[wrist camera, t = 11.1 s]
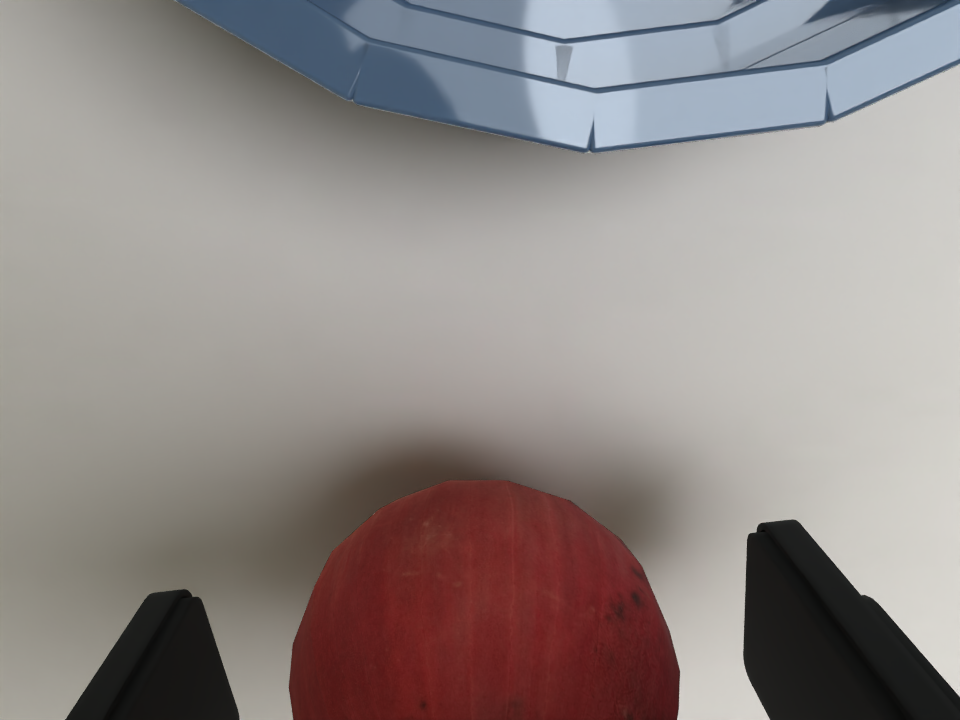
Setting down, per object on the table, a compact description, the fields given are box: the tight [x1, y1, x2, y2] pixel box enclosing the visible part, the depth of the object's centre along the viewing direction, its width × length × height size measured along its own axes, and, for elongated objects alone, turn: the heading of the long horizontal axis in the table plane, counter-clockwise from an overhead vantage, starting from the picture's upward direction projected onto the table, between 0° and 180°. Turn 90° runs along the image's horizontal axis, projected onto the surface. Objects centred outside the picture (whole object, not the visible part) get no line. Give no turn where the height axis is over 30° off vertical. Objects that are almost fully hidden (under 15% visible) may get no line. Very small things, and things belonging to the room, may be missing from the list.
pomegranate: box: [289, 480, 680, 720], centre depth 10 cm, size 6×6×8 cm
